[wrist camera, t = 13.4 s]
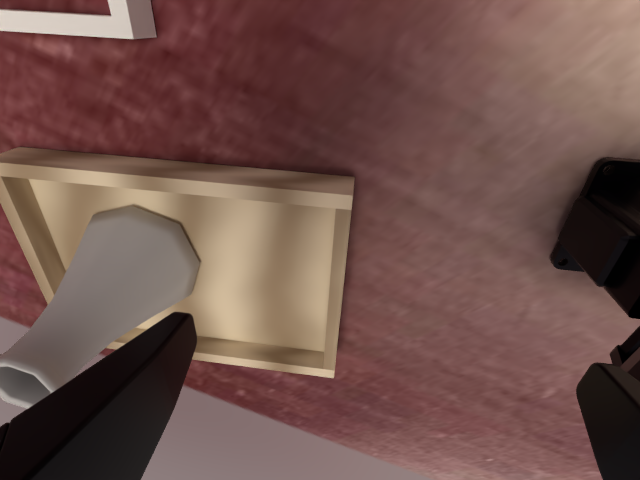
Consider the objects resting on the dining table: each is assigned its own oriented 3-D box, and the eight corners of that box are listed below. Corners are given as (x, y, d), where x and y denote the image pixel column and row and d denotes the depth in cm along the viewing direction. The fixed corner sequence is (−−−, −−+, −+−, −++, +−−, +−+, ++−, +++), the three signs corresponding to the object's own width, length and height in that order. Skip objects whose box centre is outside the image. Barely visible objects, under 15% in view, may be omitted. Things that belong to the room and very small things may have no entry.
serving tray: (354, 176, 20) (352, 195, 18) (336, 350, 27) (333, 378, 25) (19, 146, 21) (-20, 160, 19) (88, 318, 29) (65, 342, 27)
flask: (207, 303, 25) (123, 449, 16) (108, 290, 25) (-23, 426, 17) (194, 210, 21) (75, 338, 13) (77, 197, 22) (-112, 312, 13)
